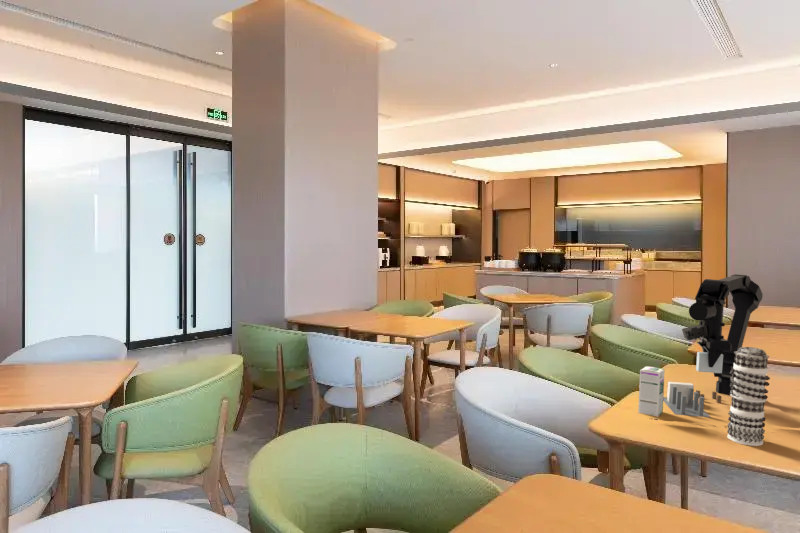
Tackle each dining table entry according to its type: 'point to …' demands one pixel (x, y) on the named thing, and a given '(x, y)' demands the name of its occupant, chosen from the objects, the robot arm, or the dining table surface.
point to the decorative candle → (748, 396)
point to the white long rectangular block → (703, 363)
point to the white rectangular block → (679, 389)
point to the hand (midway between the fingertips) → (709, 366)
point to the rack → (682, 407)
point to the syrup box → (651, 391)
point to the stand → (712, 396)
